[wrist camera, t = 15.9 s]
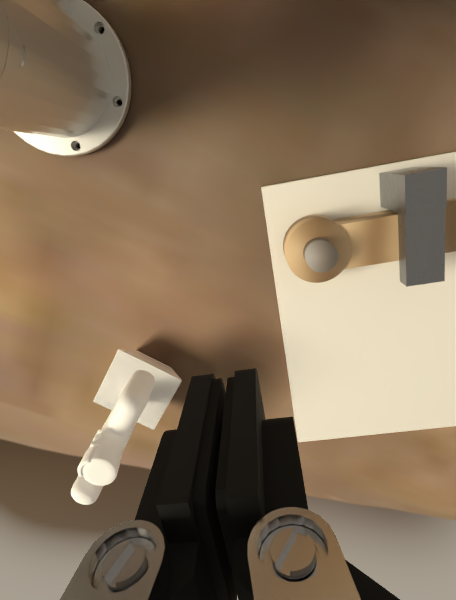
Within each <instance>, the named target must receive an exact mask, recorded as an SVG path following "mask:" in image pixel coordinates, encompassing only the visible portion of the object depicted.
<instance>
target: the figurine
mask: <svg viewBox="0 0 456 600" xmlns="http://www.w3.org/2000/svg"><path fill="white" fill-rule="evenodd" d="M181 382H182V380H181V378H180V377H179V376H178V375H177V374H176V373H175V371H174V370H173V369H172V368H171V367H170V366H168V365H166V364H164V363H161V362H159V361H157V360H155V359H153V358H151V357H149V356H147V355H145V354H143V353H141V352H139V351H137V350H124V349H118V351H117V353H116V355H115V358H114V360H113V362H112V364H111V366H110V368H109V370H108V372H107V374H106V376H105V378H104V380H103V382H102V384H101V386H100V388H99V390H98V393H97V395H96V397H95V399H94V401H93V402H95V403H97V404H99V405H102V406H104V407H106V408H108V409H110V410H112V411H111V413H110V415H109V417H108V418H107V420H106V422H105V424H104V425H103V427H102V429H101V430H100V429H99V430H98V432H97V433H96V435H95V437H94V439H93V441H92V443H91V445H90V448H89V449H88V450H87V451H86V453H85V455H84V457H83V458H82V460H81V462H80V464H79V466H78V477H77V479H76V481H75V483H74V484H73V486H72V489H71V496H72V498H73V499H74V500H75V501H76V502H78V503H80V504H84V505H89V504H92V503H94V502H95V501H96V499H97V498H98V496H99V494H100V492H101V490H102V488H103V486H104V485H108V484H110V483H112V482H113V481H114V480H115V478H116V476H117V472H118V469H119V466H120V462H121V456H122V453H123V451H124V449H125V447H126V445H127V442H128V440H129V438H130V436H131V434H132V431H133V429H134V427H135V424H136V422H138V423H140V424H142V425H144V426H146V427H148V428H151V429H153V430H154V429H155V427H156V425H157V423H158V422H159V420H160V418H161V416H162V415H163V413H164V411H165V410H166V408H167V406H168V404H169V403H170V401H171V399H172V397H173V396H174V394H175V392H176V390H177V389H178V387H179V385H180V384H181Z"/></svg>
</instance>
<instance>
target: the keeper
mask: <svg viewBox="0 0 456 600" xmlns="http://www.w3.org/2000/svg"><path fill="white" fill-rule="evenodd" d="M379 181H380V203H381V207H382V208H385V209H388V210H391V211H394V212H397V213H398V238H399V270H400V282H401V283H403V284H404V285H405V286H406V287H408V286H414V285H421V284H428V283H435V282H442V281H445V209H447V167H410V168H405V169H399V170H393V171H388V172H382V173H379Z"/></svg>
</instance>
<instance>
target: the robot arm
mask: <svg viewBox="0 0 456 600" xmlns="http://www.w3.org/2000/svg"><path fill="white" fill-rule="evenodd" d="M103 28H104V29H105V30H104V32H103V33H102V34H101V29H103ZM130 99H131V74H130V67H129V63H128V59H127V56H126V53H125V50H124V48H123V46H122V44H121V42H120V40H119V38H118V36H117V34H116V33H115V31H114V30H113V29H112V27H111V26H110V24H109V23H108V22H107V21H106V20H105V19H104V18H103V17H102V15H101V14H100V13H99V12H98V11H96V10H95V9H94V8H93V7H91V6H90V5H89V4H88V3H86V2H85V1H83V0H0V129H1V130H8V131H13V132H14V133H15V134H17V135H18V136H19V137H20V138H21V139H22V140H24V141H25V142H26V143H28V144H29V145H31V146H33V147H35V148H36V149H38V150H41V151H43V152H46V153H49V154H53V155H59V156H80V155H86V154H89V153H91V152H94V151H97V150H98V149H100V148H101V147H103V146H104V145H106V144H107V143H108V142H109V141H110V140H111V139H112V138H113V137H114V136H115V135H116V134H117V132H118V131H119V129H120V128H121V126H122V124H123V123H124V120H125V118H126V115H127V112H128V110H129V105H130ZM120 100H122V105H121V106H119V105H118V102H119V101H120ZM79 143H80V147H81V148H80V149H79V148H78V144H79ZM237 595H238V599H239V600H400V599H398V598H397V597H395V596H394V595H393V594H392V593H390V592H389V591H387V590H386V589H385V588H383V587H382V586H381V585H379V584H378V583H376V582H375V581H374V580H372V579H371V578H370V577H368V576H367V575H365V574H364V573H363V572H361V571H360V570H359V569H357V568H356V567H354V566H353V565H352V564H350V563H349V562H348V561H346V560H345V558H344V556H343V554H342V551H341V548H340V546H339V543H338V541H337V538H336V536H335V534H334V532H333V531H332V529H331V527H330V526H329V524H328V523H327V522H326V521H325V520H324V519H322V518H321V517H320V516H319V515H317V514H315V513H313V512H311V511H309V510H308V506H307V500H306V494H305V488H304V481H303V475H302V469H301V463H300V457H299V451H298V445H297V439H296V433H295V427H294V421H293V417H285V418H276V419H267V420H265V414H264V409H263V403H262V397H261V391H260V386H259V380H258V374H257V370H256V369H248V370H240V371H235V377H229V378H228V379H227V387H226V392H225V388H224V383H223V380H222V378H221V379H215V376H214V374H209V375H201V376H193V377H192V378H191V382H190V385H189V389H188V393H187V396H186V400H185V403H184V407H183V410H182V414H181V418H180V421H179V425H178V428H177V430H169V431H165V432H164V434H163V436H162V438H161V441H160V444H159V447H158V450H157V453H156V457H155V460H154V463H153V466H152V469H151V472H150V475H149V478H148V481H147V484H146V487H145V490H144V493H143V496H142V499H141V502H140V505H139V508H138V512H137V515H136V518H135V520H133V521H127V522H124V523H121V524H119V525H116V526H115V527H113V528H111V529H110V530H108V531H106V532H105V533H104V534H103V535H102V536H101V537H99V538H98V539H97V540H96V541H95V542H94V543H93V545H92V546H91V548H90V549H89V550H88V552H87V553H86V554H85V556H84V558H83V560H82V562H81V563H80V565H79V567H78V569H77V570H76V572H75V574H74V576H73V577H72V579H71V581H70V583H69V585H68V586H67V588H66V590H65V592H64V594H63V595H62V597H61V599H60V600H237Z"/></svg>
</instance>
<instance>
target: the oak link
mask: <svg viewBox="0 0 456 600" xmlns="http://www.w3.org/2000/svg"><path fill="white" fill-rule="evenodd" d="M283 251H284V255H285V258H286V260H287V263H288V266H289V268H290V269H291V271H292V272H293V273H294V274H295V275H296V276H297V277H299V278H300V279H302V280H304V281H307V282H312V283H320V282H325V281H328V280H331V279H333V278H334V277H336V276H337V275H339V274H340V273H341V272H342V271H343V270H344V269H350V268H356V267H362V266H368V265H374V264H381V263H387V262H393V261H399V238H398V213H397V212H394V211H391V210H385V211H380V212H374V213H368V214H363V215H357V216H352V217H346V218H340V219H335V220H330V219H329V218H327V217H325V216H321V215H308V216H305V217H302V218H300V219H298V220H297V221H295V222H294V223H293V224H292V225H291V226H290V227H289V229H288V230H287V232H286V234H285V237H284V240H283ZM455 251H456V198H453V199H447V209H445V253H449V252H455Z"/></svg>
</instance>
